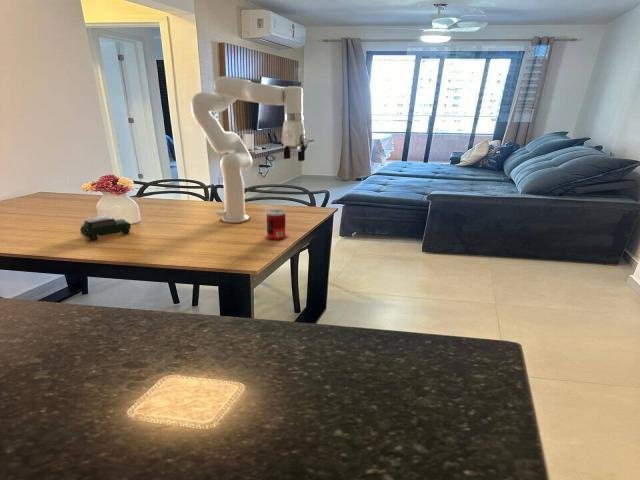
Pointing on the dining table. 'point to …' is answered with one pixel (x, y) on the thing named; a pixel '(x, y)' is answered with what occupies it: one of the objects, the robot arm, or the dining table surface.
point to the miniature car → (103, 227)
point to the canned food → (276, 224)
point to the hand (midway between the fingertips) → (294, 159)
